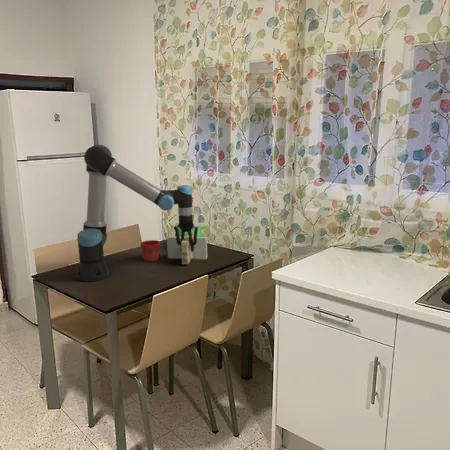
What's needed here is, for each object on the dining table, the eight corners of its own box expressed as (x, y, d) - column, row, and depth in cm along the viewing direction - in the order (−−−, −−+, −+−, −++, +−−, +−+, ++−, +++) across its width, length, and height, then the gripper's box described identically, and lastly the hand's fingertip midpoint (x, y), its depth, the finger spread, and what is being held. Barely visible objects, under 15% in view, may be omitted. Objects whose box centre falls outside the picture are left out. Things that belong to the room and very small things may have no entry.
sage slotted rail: (167, 258, 257) (166, 237, 254) (169, 256, 260) (168, 236, 257) (206, 259, 253) (205, 238, 250) (207, 257, 256) (206, 237, 253)
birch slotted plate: (190, 253, 262) (190, 232, 259) (195, 253, 261) (195, 232, 258) (182, 263, 242) (181, 242, 240) (187, 264, 242) (186, 242, 239)
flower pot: (137, 259, 256) (136, 242, 254) (154, 255, 263) (153, 239, 261) (148, 263, 248) (146, 246, 246) (164, 259, 255) (163, 242, 253)
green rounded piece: (169, 249, 274) (168, 225, 270) (187, 243, 287) (186, 220, 284) (192, 254, 263) (191, 229, 260) (210, 247, 277) (209, 223, 273)
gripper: (169, 215, 240) (171, 258, 245) (198, 216, 237) (200, 259, 243) (172, 213, 247) (174, 254, 253) (201, 213, 245) (203, 255, 250)
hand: (187, 256), depth 248 cm, fingers closed on birch slotted plate, 3 cm apart
